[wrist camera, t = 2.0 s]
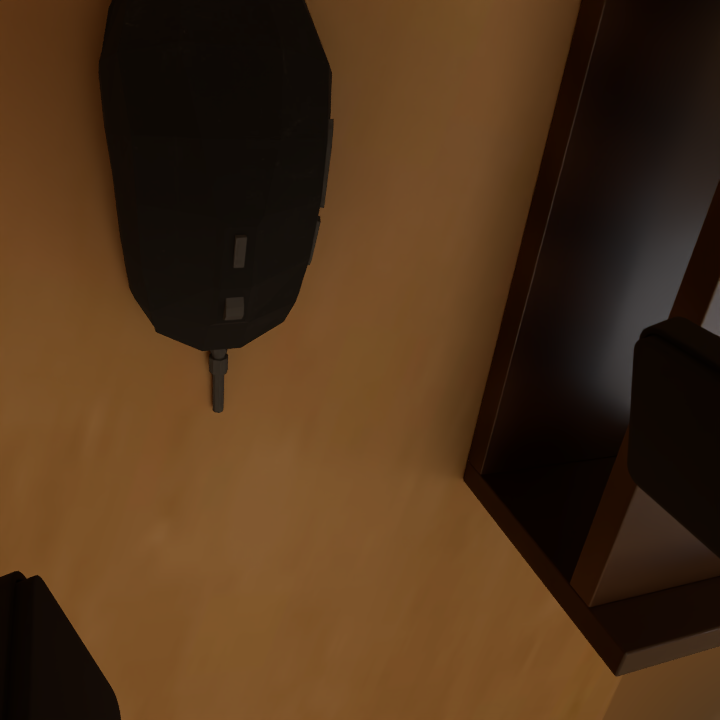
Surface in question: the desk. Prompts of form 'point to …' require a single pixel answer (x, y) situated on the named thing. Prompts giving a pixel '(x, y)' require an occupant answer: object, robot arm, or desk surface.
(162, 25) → the gaming mouse
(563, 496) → the shelf
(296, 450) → the desk surface
